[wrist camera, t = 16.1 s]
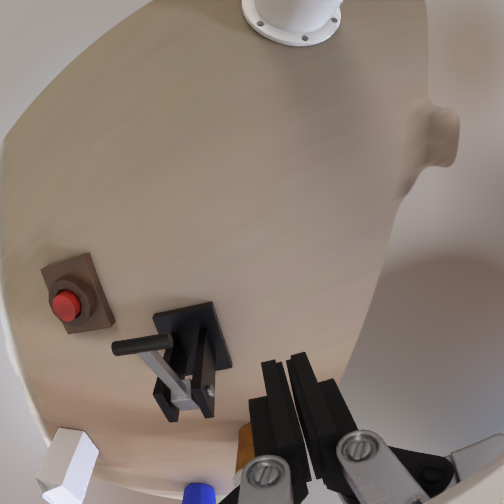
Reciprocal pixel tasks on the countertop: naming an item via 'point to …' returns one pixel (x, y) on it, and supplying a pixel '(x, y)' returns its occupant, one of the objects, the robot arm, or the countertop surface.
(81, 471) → the milk carton
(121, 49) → the countertop surface
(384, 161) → the countertop surface
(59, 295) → the button
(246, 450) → the disposable coffee cup
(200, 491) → the mug
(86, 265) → the button block
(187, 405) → the lever
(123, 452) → the countertop surface
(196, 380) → the black lever base
